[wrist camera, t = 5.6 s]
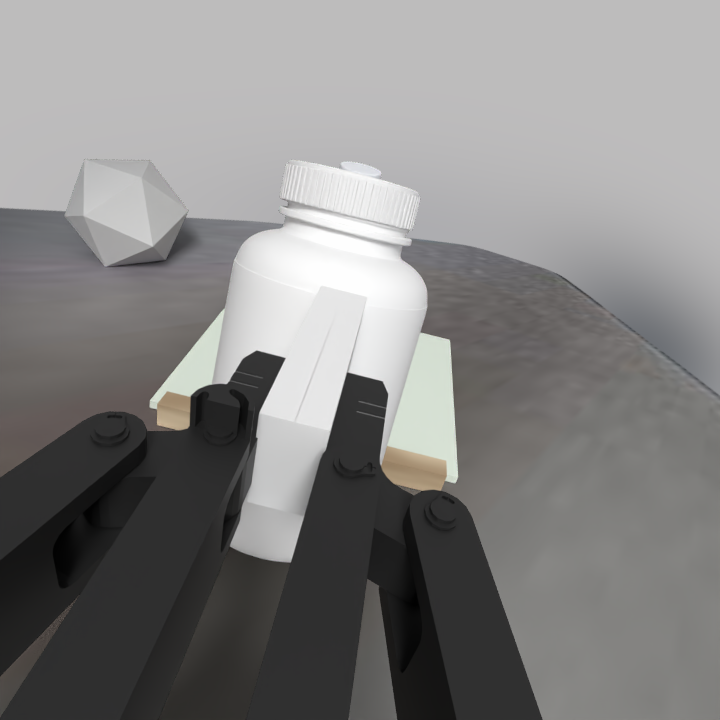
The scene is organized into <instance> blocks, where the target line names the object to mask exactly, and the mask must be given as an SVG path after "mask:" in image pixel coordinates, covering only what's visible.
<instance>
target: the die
mask: <svg viewBox="0 0 720 720" xmlns="http://www.w3.org/2000/svg"><path fill="white" fill-rule="evenodd" d="M188 211H189V210H188V209H187V208H186V207H185V205H184V204H183V203H182V201H181V200H180V199H179V197H178V196H177V195H176V194H175V192H174V191H173V190H172V188H171V187H170V186H169V184H168V183H167V182H166V180H165V179H164V178H163V177H162V175H161V174H160V173H159V171H158V170H157V169H156V167H155V166H154V165H153V163H152V162H151V161H150V160H98V159H84V162H83V165H82V167H81V170H80V173H79V176H78V179H77V182H76V184H75V187H74V190H73V193H72V196H71V199H70V201H69V204H68V207H67V210H66V213H65V215H64V216H65V217H66V219H67V220H68V221H69V222H70V224H71V225H72V226H73V227H74V229H75V230H76V231H77V232H78V234H79V235H80V236H81V237H82V239H83V240H84V241H85V242H86V244H87V245H88V246H89V247H90V249H91V250H92V251H93V252H94V254H95V255H96V256H97V257H98V259H99V260H100V261H101V262H102V264H103V265H104V266H105V267H110V266H119V265H127V264H136V263H145V262H154V261H163V260H166V258H167V256H168V254H169V252H170V250H171V248H172V245H173V243H174V241H175V239H176V237H177V235H178V233H179V230H180V228H181V226H182V224H183V222H184V220H185V218H186V215H187V213H188Z"/></svg>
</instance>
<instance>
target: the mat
mask: <svg viewBox="0 0 720 720" xmlns="http://www.w3.org/2000/svg"><path fill="white" fill-rule="evenodd" d="M224 312H225V308H224V309H223V311H222V312H221V313H220V314H219V316H218V317H217V318H216V319H215V320H214V322H213V323H212V324H211V325H210V327H209V328H208V329H207V330H206V332H205V333H204V334H203V335H202V337H201V338H200V339H199V340H198V342H197V343H196V344H195V345H194V347H193V348H192V349H191V350H190V352H189V353H188V354H187V355H186V357H185V358H184V359H183V360H182V361H181V363H180V364H179V365H178V366H177V368H176V369H175V370H174V371H173V373H172V374H171V375H170V376H169V378H168V379H167V380H166V381H165V383H164V384H163V385H162V386H161V388H160V389H159V390H158V391H157V393H156V394H155V395H154V396H153V398H152V399H151V400H150V408H154V409H157V404H158V402H159V401H160V400H161V398H162V397H163V396H164V395H165V393H166V392H167V391H168V392H172V393H176V394H180V395H184V396H188V397H191V395H192V394H193V393H194V392H195V391H196V390H198V389H199V388H202V387H205V386H207V385H212V380H213V374H214V369H215V363H216V357H217V352H218V346H219V340H220V335H221V329H222V323H223V318H224ZM387 446H389V447H393V448H397V449H401V450H405V451H409V452H413V453H417V454H421V455H426V456H430V457H434V458H438V459H442V460H446V464H447V477H446V479H445V481H448V482H452V483H456V481H457V479H458V468H457V451H456V434H455V417H454V400H453V384H452V367H451V350H450V340H448V339H444V338H440V337H436V336H432V335H428V334H424V333H420V335H419V339H418V342H417V345H416V349H415V352H414V356H413V359H412V362H411V366H410V369H409V373H408V376H407V379H406V383H405V386H404V390H403V393H402V397H401V400H400V403H399V407H398V410H397V414H396V417H395V420H394V424H393V427H392V431H391V434H390V438H389V441H388V444H387Z"/></svg>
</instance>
